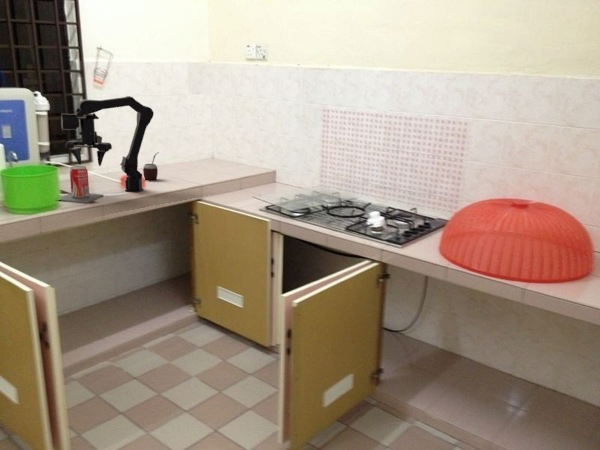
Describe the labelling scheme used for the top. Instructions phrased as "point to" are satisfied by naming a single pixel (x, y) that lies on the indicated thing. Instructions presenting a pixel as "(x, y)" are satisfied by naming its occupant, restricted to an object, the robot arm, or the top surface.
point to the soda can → (79, 182)
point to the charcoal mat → (81, 200)
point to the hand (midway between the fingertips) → (90, 165)
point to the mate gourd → (150, 171)
